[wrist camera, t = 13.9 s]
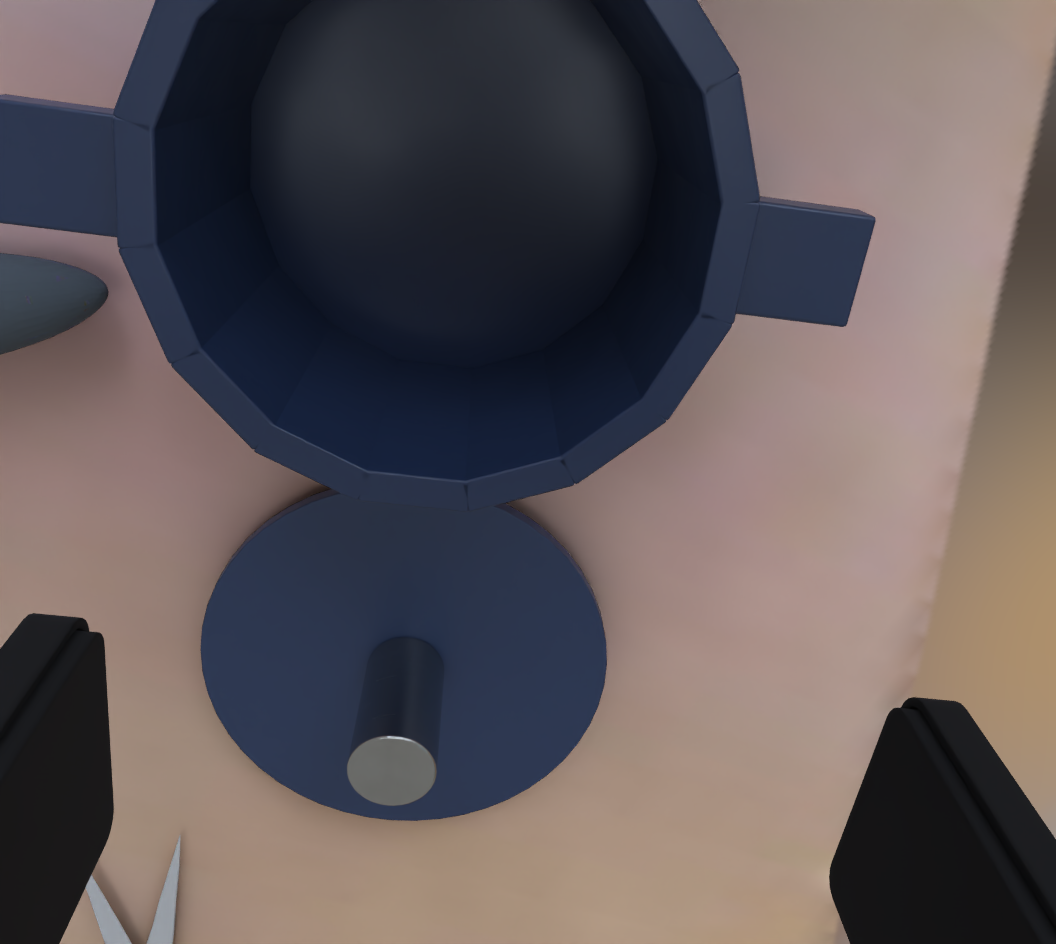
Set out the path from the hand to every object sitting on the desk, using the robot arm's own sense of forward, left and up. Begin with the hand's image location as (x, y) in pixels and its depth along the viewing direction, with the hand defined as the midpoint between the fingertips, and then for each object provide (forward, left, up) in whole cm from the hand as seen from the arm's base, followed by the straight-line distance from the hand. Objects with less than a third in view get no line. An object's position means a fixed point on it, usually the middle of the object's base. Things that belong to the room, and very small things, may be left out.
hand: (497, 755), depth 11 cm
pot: (-4, -2, -19) cm, 19 cm away
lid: (+12, -2, -18) cm, 22 cm away
